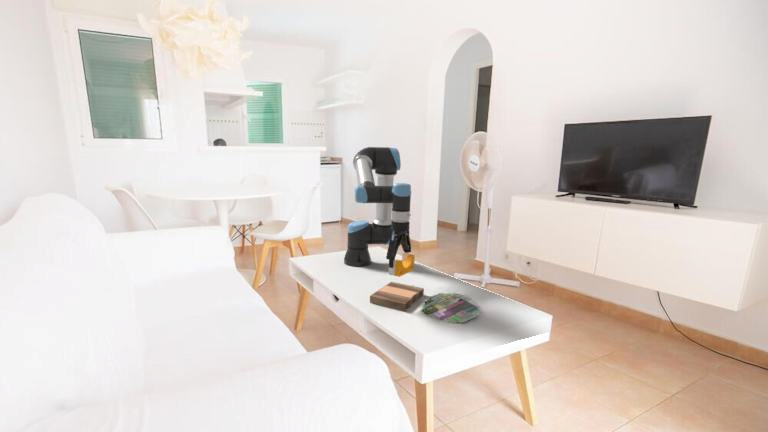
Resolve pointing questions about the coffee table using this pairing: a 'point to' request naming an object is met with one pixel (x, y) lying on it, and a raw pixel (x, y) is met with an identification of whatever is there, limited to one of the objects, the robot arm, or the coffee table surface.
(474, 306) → the city model
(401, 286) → the board
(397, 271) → the pipe clamp
